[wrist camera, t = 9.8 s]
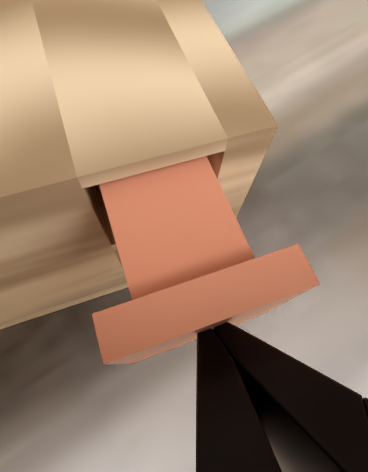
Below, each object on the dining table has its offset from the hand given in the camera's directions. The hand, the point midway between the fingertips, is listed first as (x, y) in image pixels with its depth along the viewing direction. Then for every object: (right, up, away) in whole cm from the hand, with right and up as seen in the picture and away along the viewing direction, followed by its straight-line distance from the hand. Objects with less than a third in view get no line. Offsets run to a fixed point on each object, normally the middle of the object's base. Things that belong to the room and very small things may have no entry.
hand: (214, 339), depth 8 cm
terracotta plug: (-2, +4, +5) cm, 7 cm away
